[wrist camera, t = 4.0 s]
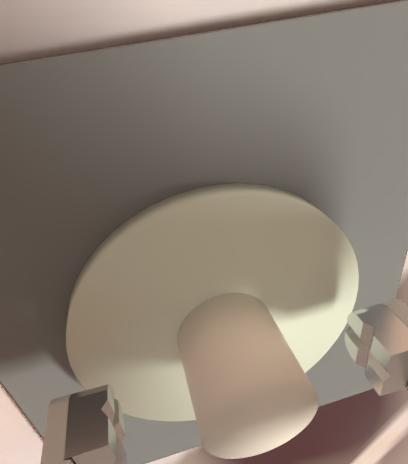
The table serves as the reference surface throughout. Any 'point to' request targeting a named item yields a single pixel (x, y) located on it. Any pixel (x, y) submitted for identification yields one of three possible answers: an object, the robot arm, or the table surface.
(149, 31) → the table surface
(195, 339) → the lid
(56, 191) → the mat
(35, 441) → the table surface
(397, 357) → the robot arm
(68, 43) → the table surface
